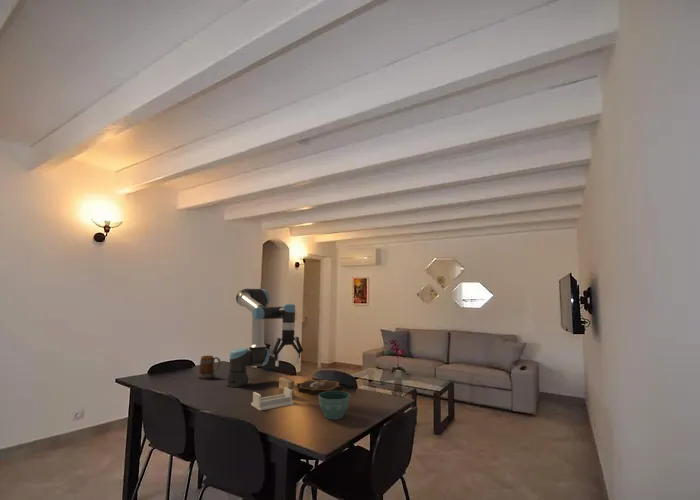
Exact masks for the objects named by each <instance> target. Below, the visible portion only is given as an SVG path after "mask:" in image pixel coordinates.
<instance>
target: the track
mask: <svg viewBox="0 0 700 500" xmlns="http://www.w3.org/2000/svg"><path fill="white" fill-rule="evenodd" d="M294 403H295V402H294V401H293V398H292V390H291V389H288V388H286V387H285V388H284V394H281V395H279V394H277V395H269V396H268V395H267V396H263V397H262V395H261V394H260V393H258V392H256V391H254V392H252V402H250V405H251V406H252V407H253V408H255V409H257V410H258V411H265V410H271V409H276V408H281V407H286V406H292V405H294Z"/></svg>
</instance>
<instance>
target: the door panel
mask: <svg viewBox="0 0 700 500" xmlns="http://www.w3.org/2000/svg"><path fill="white" fill-rule="evenodd" d="M278 382H279V383H278V395H281V394H284V388H285V387H286V388H288V389H291V390H292V399H294V398H295V380H293V379H291V378H288V377H284V376H281V377H279V378H278Z"/></svg>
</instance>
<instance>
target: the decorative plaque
mask: <svg viewBox="0 0 700 500" xmlns="http://www.w3.org/2000/svg"><path fill="white" fill-rule="evenodd" d="M296 387H297V388H298V392H299V393H301V392H302V393H301V394H310V395H312V396H314V395H319V394H320V393H322V392H326V391H343V390H342V385H340V382H339V381H334V380H327V379H320V380H319V379H308V380H305V381H303V382H297V386H296Z"/></svg>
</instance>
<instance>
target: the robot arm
mask: <svg viewBox="0 0 700 500" xmlns="http://www.w3.org/2000/svg"><path fill="white" fill-rule="evenodd" d="M235 301H236V303H237V304H238V305H239V306H241V307H244V308H246V309H247V310H248V311H249V312H251V344H250V345H249V347H248V348H247V347H238V348H234V349H233V350H231V351H230V352H229V353H230V354H229V367H228V369H229V370H228V375H227V378H226V381H225V386H226V387H231V388H238V387H239V388H241V387H246V386H248V385H249V384H250V378H249V375H248V368H253V367H263V366H265V365H267V364H268V362H269V359H270V351H269V350H270V349H268V348H267V345H266V344H265V320H277V319H279V320H282V321H281V322H282V325H281V326H282V327H281V328H282V330H281V337H277V338H276V342H275V345H274V346H273V349H272V351H271V354H272V355H274V356H273V357H274V358H273V359H274V361H275V367H279V363H280V362H279V361H280V355H279V354H280V352H281V351H282V350H283V348H284V347H285V346H292V347H293V349H294V350H295V351H296V352H295V364H296V365H299V364H300V363H299V362H300V358H301V353H303V351H304V349H303V347H302V345H301V342H300V337H299V336H295V327H296V324H295V323H296V322H295V320H296V305H295V304H294V303H292V304H291V303H286V304H285V303H284V304H283V306H280V305H279V306H268V305H269V304H270V294H269V291H268V290H267V289H264V288H244V289H241V290H239V291H238V292H237V293H236V296H235ZM295 343H296V344H295Z"/></svg>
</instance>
